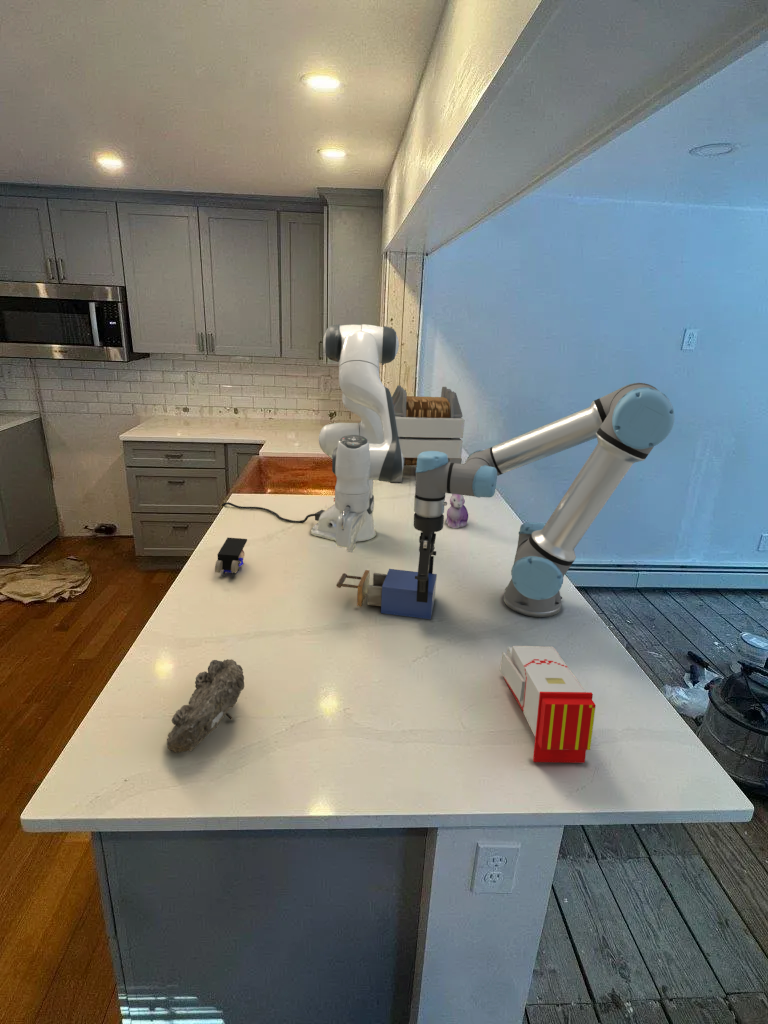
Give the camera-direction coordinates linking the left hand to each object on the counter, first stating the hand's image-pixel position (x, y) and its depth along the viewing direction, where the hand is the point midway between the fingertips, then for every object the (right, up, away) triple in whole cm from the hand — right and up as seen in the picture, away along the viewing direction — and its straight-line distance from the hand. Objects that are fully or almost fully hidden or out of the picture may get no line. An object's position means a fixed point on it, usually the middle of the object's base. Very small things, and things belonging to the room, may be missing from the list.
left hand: (350, 550), depth 149 cm
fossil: (-24, -29, -41) cm, 56 cm away
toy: (+39, -30, -35) cm, 61 cm away
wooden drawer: (+5, -13, +4) cm, 15 cm away
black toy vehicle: (-36, -7, +19) cm, 41 cm away
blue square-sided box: (+15, -15, +3) cm, 22 cm away
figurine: (+36, +5, +62) cm, 72 cm away
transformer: (+26, +29, +126) cm, 132 cm away
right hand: (+19, -10, 0) cm, 22 cm away
